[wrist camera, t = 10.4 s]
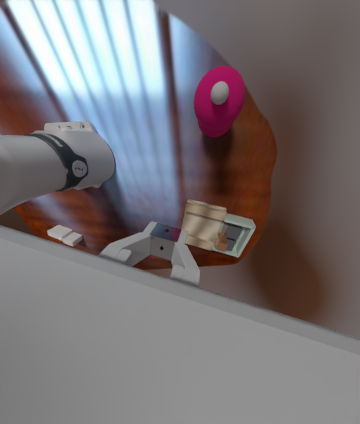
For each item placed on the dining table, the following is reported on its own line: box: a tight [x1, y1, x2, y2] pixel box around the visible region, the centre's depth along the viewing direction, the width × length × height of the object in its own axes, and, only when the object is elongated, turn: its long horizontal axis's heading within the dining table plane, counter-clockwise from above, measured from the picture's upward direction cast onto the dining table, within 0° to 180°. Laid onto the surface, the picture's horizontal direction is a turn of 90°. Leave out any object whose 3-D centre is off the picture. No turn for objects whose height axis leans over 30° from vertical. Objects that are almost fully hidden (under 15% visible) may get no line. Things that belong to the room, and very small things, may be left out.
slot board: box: [181, 199, 227, 250], centre depth 42 cm, size 12×15×3 cm
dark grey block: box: [225, 223, 243, 240], centre depth 39 cm, size 4×4×3 cm
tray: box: [213, 213, 256, 257], centre depth 41 cm, size 8×12×4 cm
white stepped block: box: [47, 225, 83, 246], centre depth 58 cm, size 15×11×6 cm
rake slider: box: [214, 221, 228, 251], centre depth 39 cm, size 2×9×7 cm, turn 170°
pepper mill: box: [194, 66, 245, 137], centre depth 21 cm, size 7×7×20 cm
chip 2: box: [226, 237, 236, 251], centre depth 42 cm, size 4×4×3 cm
